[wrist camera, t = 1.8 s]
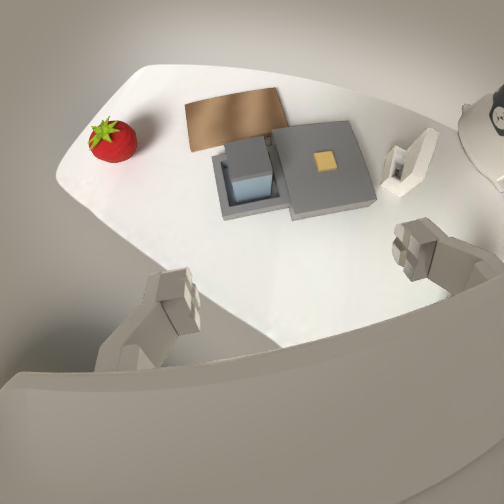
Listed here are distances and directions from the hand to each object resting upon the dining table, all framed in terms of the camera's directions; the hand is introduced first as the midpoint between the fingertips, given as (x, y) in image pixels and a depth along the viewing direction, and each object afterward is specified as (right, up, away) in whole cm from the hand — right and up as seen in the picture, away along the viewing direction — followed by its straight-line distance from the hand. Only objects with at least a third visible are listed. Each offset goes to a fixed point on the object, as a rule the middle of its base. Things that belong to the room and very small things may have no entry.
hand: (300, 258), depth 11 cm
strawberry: (-20, +14, +28) cm, 38 cm away
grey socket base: (+3, +10, +27) cm, 29 cm away
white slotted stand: (+19, +11, +27) cm, 35 cm away
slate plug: (-2, +9, +27) cm, 28 cm away
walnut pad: (-4, +20, +28) cm, 35 cm away
